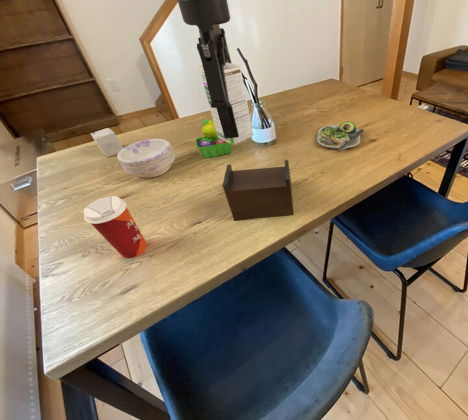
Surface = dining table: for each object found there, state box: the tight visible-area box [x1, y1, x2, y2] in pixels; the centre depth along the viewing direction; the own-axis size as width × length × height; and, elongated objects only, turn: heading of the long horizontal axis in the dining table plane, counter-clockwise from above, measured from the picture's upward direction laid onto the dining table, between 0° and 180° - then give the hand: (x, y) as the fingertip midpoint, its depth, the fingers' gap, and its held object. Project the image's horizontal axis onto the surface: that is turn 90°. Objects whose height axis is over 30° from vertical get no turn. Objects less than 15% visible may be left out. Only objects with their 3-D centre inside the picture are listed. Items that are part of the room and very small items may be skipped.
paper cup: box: [83, 195, 148, 259], centre depth 62 cm, size 8×8×14 cm
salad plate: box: [316, 121, 365, 152], centre depth 104 cm, size 19×18×5 cm
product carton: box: [90, 127, 124, 158], centre depth 98 cm, size 6×6×7 cm
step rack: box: [222, 159, 295, 222], centre depth 76 cm, size 15×16×12 cm
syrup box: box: [198, 62, 254, 146], centre depth 56 cm, size 6×6×14 cm
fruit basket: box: [195, 118, 232, 159], centre depth 96 cm, size 11×9×11 cm
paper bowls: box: [116, 138, 176, 179], centre depth 89 cm, size 15×15×8 cm
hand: (234, 127), depth 59 cm, fingers closed on syrup box, 8 cm apart
